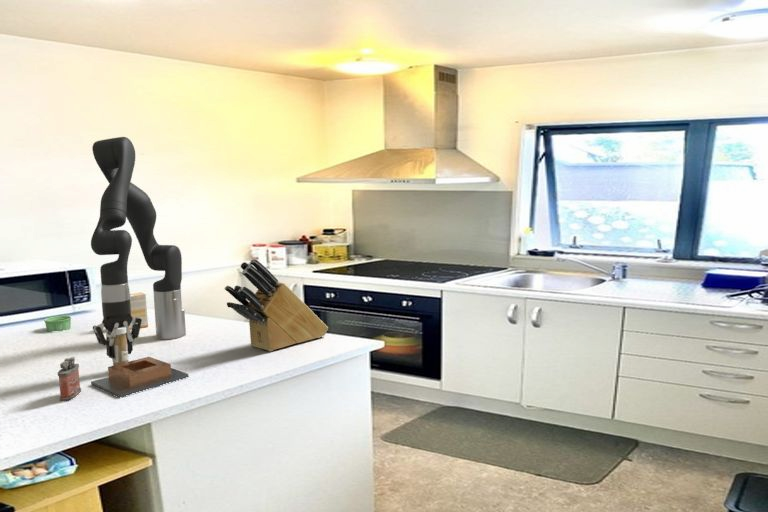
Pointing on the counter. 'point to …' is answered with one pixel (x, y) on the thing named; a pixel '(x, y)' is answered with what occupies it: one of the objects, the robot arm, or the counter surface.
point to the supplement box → (139, 308)
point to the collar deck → (129, 391)
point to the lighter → (69, 379)
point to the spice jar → (120, 347)
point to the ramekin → (58, 323)
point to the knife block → (274, 311)
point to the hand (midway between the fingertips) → (120, 355)
